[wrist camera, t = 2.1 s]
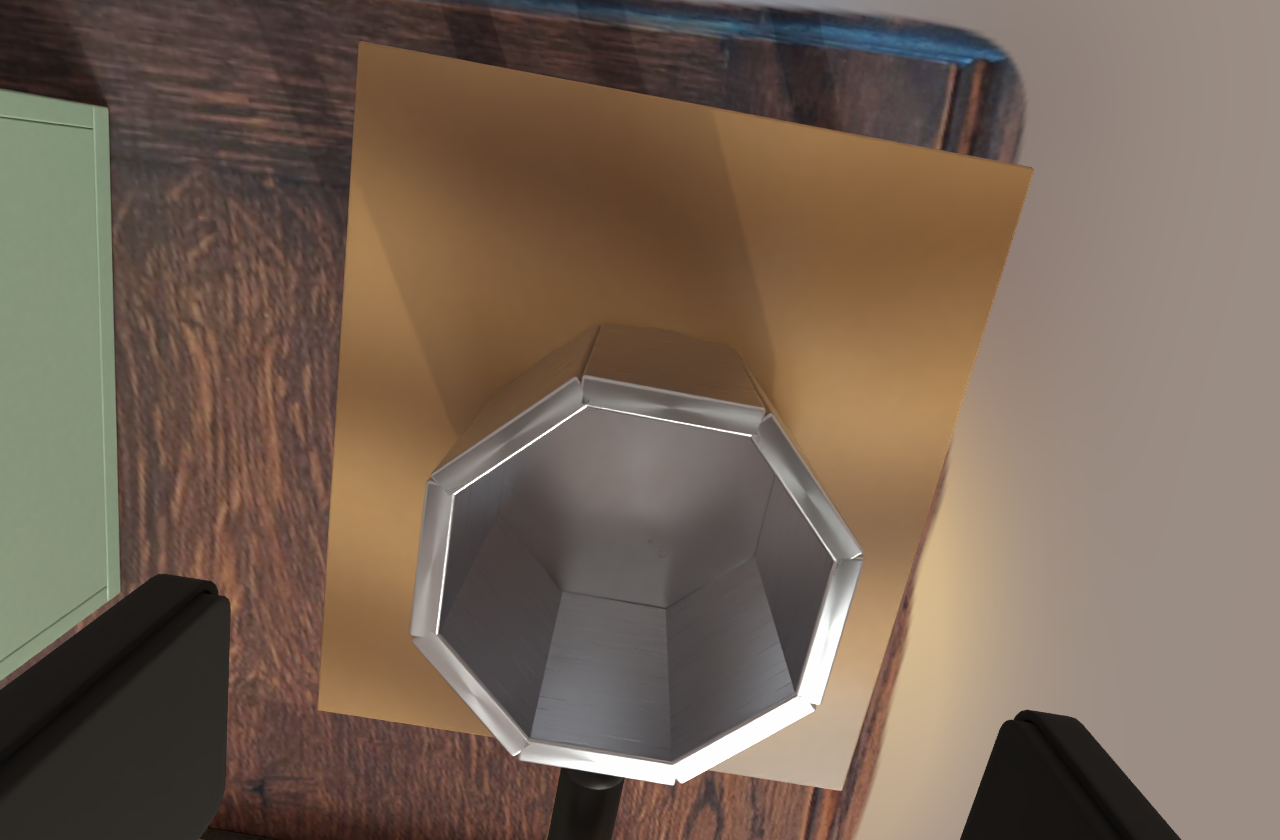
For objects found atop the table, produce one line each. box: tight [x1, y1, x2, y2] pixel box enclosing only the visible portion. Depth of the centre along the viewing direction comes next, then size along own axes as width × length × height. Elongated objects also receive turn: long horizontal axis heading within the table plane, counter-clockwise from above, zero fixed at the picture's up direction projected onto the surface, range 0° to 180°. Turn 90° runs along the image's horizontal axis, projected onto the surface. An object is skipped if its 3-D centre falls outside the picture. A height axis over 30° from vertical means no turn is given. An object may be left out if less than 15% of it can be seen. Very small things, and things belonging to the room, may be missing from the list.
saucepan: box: [409, 322, 865, 840], centre depth 16 cm, size 16×7×6 cm, turn 169°
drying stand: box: [318, 41, 1034, 791], centre depth 23 cm, size 16×14×12 cm
